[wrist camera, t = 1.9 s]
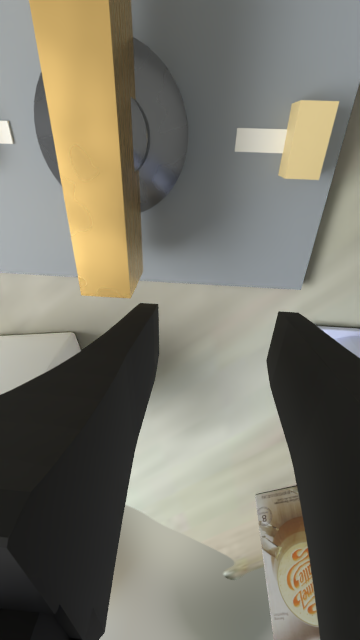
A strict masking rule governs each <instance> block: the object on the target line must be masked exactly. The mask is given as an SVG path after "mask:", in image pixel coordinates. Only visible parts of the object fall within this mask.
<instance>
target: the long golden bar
mask: <svg viewBox="0 0 360 640" xmlns="http://www.w3.org/2000/svg"><path fill="white" fill-rule="evenodd" d="M29 4H30V10H31V15H32V21H33V26H34V32H35V38H36V43H37V49H38V55H39V60H40V66H41V73H40V76H39V80H38V83H37V86H36V92H35V98H34V123H35V130H36V135H37V139H38V143H39V146H40V149H41V152H42V155H43V157H44V159H45V161H46V163H47V165H48V167H49V169H50V171H51V172H52V174H53V175H54V177H55V178H56V180H57V181H58V182H59V184H60V185H61V186H62V189H63V195H64V201H65V206H66V212H67V218H68V223H69V229H70V234H71V240H72V246H73V251H74V257H75V263H76V268H77V274H78V279H79V285H80V291H81V295H84V296H101V297H117V298H131V296H132V294H133V292H134V290H135V288H136V286H137V284H138V281H139V279H140V277H141V275H142V273H143V254H142V232H141V212H144V211H146V210H148V209H150V208H152V207H153V206H155V205H156V204H158V203H159V202H160V201H161V200H162V199H164V198H165V197H166V195H167V194H168V193H169V192H170V191H171V190H172V188H173V186H174V185H175V183H176V182H177V180H178V178H179V176H180V174H181V172H182V169H183V166H184V163H185V159H186V155H187V150H188V139H189V137H188V120H187V113H186V109H185V105H184V101H183V98H182V96H181V93H180V90H179V88H178V86H177V84H176V82H175V80H174V78H173V76H172V74H171V73H170V71H169V70H168V68H167V67H166V65H165V64H164V63H163V62H162V60H161V59H160V58H159V57H158V56H157V55H156V54H155V53H154V52H153V51H152V50H151V49H150V48H149V47H148V46H146V45H145V44H143V43H142V42H141V41H139V40H138V39H136V38H134V37H133V29H132V7H131V0H29Z"/></svg>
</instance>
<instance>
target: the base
mask: <svg viewBox="0 0 360 640" xmlns="http://www.w3.org/2000/svg"><path fill="white" fill-rule="evenodd" d="M131 7H132V29H133V37H134V38H136V39H138V40H139V41H141V42H142V43H143V44H145V45H146V46H148V47H149V48H150V49H151V50H152V51H153V52H154V53H155V54H156V55H157V56H158V57H159V58H160V59H161V60H162V62H163V63H164V64H165V65H166V67H167V68H168V70H169V71H170V73H171V74H172V76H173V78H174V80H175V82H176V84H177V86H178V88H179V90H180V93H181V96H182V98H183V101H184V105H185V109H186V113H187V120H188V137H189V139H188V150H187V155H186V159H185V163H184V166H183V169H182V172H181V174H180V176H179V178H178V180H177V182H176V183H175V185H174V186H173V188H172V190H171V191H170V192H169V193H168V194H167V195H166V197H165V198H164V199H162V200H161V201H160V202H159V203H158V204H156V205H155V206H153V207H152V208H150V209H148V210H146V211H144V212H141V232H142V254H143V273H142V275H141V277H140V279H139V281H155V282H172V283H190V284H207V285H225V286H242V287H260V288H277V289H295V290H301V288H302V284H303V281H304V277H305V274H306V270H307V266H308V263H309V259H310V256H311V252H312V249H313V245H314V242H315V238H316V235H317V231H318V228H319V224H320V221H321V217H322V214H323V210H324V207H325V203H326V199H327V196H328V192H329V189H330V185H331V182H332V178H333V175H334V171H335V168H336V164H337V161H338V157H339V154H340V150H341V147H342V143H343V140H344V136H345V132H346V129H347V125H348V122H349V118H350V115H351V111H352V108H353V104H354V101H355V97H356V94H357V90H358V87H359V83H360V0H131ZM40 73H41V66H40V60H39V55H38V49H37V43H36V38H35V32H34V26H33V21H32V15H31V10H30V4H29V0H0V273H14V274H32V275H49V276H67V277H78V274H77V268H76V263H75V257H74V251H73V246H72V240H71V234H70V229H69V223H68V218H67V212H66V206H65V201H64V195H63V189H62V186H61V185H60V184H59V182H58V181H57V180H56V178H55V177H54V175H53V174H52V172H51V171H50V169H49V167H48V165H47V163H46V161H45V159H44V157H43V155H42V152H41V149H40V146H39V143H38V139H37V135H36V130H35V123H34V98H35V92H36V86H37V83H38V80H39V76H40Z"/></svg>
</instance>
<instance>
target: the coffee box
mask: <svg viewBox="0 0 360 640" xmlns="http://www.w3.org/2000/svg"><path fill="white" fill-rule="evenodd" d="M255 499H256V507H257V513H258V521H259V529H260V537H261V544H262V553H263V560H264V568H265V576H266V583H267V591H268V599H269V606H270V614H271V622H272V630H273V638H274V640H320V634H319V626H318V618H317V610H316V603H315V595H314V587H313V580H312V573H311V567H310V560H309V553H308V547H307V540H306V534H305V528H304V522H303V516H302V510H301V505H300V499H299V494H298V488H297V486H295V487H290V488H285V489H281V490H276V491H271V492H266V493H262V494H258V495H256V496H255Z"/></svg>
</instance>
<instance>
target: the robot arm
mask: <svg viewBox="0 0 360 640" xmlns="http://www.w3.org/2000/svg"><path fill="white" fill-rule="evenodd" d="M158 356H159V319H158V304H146V303H140V304H138V305H137V306H136V307H135V308H134V309H133V310H131V311H130V312H129V313H128V314H127V315H126V316H125V317H124V318H122V319H121V320H120V321H119V322H118V323H117V324H115V325H114V326H113V327H112V328H111V329H109V330H108V331H107V332H106V333H105V334H103V335H102V336H101V337H99V338H98V339H97V340H95V341H94V342H93V343H91V344H90V345H88V346H87V347H86V348H84V349H83V350H82V351H80V352H79V353H77V354H76V355H74V356H72V357H71V358H69V359H68V360H66V361H64V362H63V363H61V364H59V365H58V366H56V367H54V368H53V369H51V370H49V371H47V372H45V373H43V374H41V375H39V376H38V377H36V378H34V379H32V380H30V381H28V382H26V383H24V384H22V385H20V386H18V387H16V388H14V389H12V390H10V391H8V392H6V393H3V394H1V395H0V640H99V639H100V637H101V636H102V635H103V634H104V632H105V626H106V620H107V612H108V605H109V599H110V593H111V587H112V580H113V574H114V567H115V561H116V555H117V549H118V543H119V537H120V531H121V524H122V519H123V513H124V507H125V502H126V496H127V490H128V485H129V479H130V474H131V469H132V463H133V458H134V452H135V448H136V444H137V440H138V436H139V433H140V429H141V426H142V422H143V419H144V415H145V412H146V408H147V405H148V401H149V398H150V394H151V391H152V387H153V384H154V380H155V375H156V369H157V363H158ZM267 368H268V375H269V381H270V387H271V391H272V394H273V397H274V401H275V404H276V408H277V411H278V414H279V418H280V421H281V424H282V428H283V431H284V434H285V438H286V441H287V444H288V448H289V451H290V455H291V459H292V463H293V467H294V473H295V478H296V483H297V488H298V494H299V499H300V505H301V510H302V516H303V522H304V528H305V534H306V540H307V547H308V553H309V560H310V567H311V573H312V580H313V587H314V595H315V603H316V610H317V618H318V626H319V634H320V640H360V329H357V328H341V327H325V326H316V325H315V324H313V323H312V322H311V321H309V320H308V319H307V318H305V317H304V316H302V315H301V314H299V313H294V312H278V316H277V320H276V324H275V328H274V332H273V336H272V340H271V344H270V348H269V352H268V356H267Z"/></svg>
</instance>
